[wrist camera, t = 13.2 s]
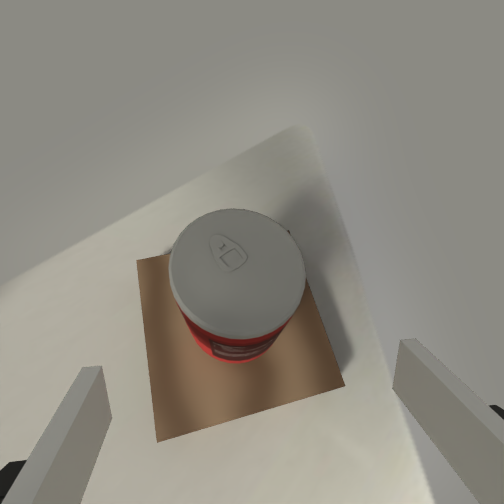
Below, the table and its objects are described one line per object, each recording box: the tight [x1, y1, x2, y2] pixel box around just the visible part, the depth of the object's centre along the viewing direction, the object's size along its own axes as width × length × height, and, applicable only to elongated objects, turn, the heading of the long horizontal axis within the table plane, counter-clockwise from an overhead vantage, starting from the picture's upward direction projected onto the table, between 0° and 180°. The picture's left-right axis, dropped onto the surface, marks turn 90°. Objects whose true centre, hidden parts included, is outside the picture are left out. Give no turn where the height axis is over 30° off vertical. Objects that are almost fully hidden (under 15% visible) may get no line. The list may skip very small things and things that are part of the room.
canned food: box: [168, 209, 306, 363], centre depth 22 cm, size 8×8×11 cm
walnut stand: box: [136, 230, 345, 443], centre depth 29 cm, size 15×15×4 cm
